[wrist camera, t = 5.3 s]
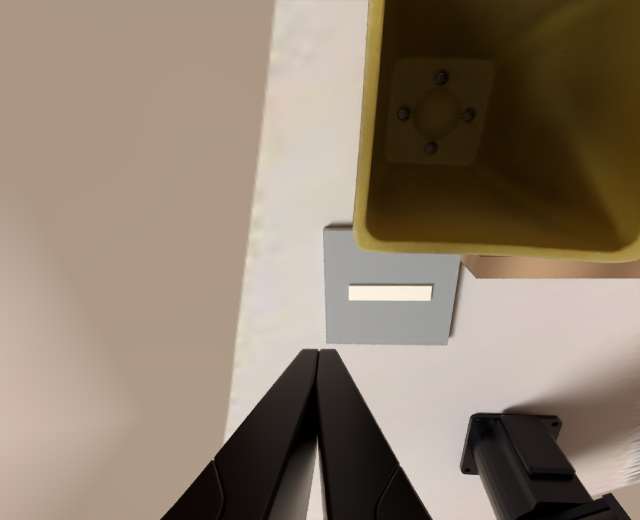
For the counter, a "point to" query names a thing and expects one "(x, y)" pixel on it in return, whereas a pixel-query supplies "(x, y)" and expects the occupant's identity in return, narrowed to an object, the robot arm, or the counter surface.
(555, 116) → the flower pot
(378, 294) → the tile
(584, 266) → the wooden tray frame
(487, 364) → the counter surface
